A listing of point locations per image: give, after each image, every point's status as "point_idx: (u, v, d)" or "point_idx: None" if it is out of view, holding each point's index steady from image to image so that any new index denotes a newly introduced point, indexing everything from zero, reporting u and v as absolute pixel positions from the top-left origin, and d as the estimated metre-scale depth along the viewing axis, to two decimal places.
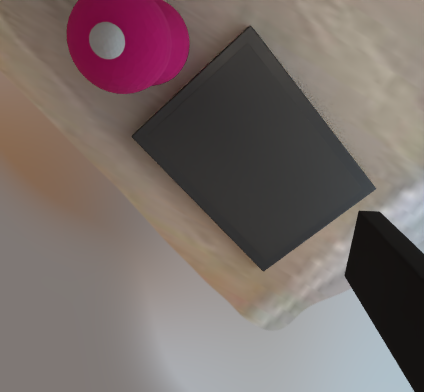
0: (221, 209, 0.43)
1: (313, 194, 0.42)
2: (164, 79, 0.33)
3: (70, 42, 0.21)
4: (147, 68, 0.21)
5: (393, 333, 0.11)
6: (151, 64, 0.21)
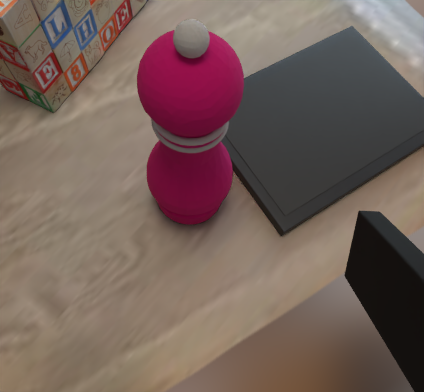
0: (374, 155, 0.37)
1: (357, 72, 0.41)
2: (228, 153, 0.31)
3: (184, 99, 0.19)
4: (222, 39, 0.20)
5: (393, 333, 0.11)
6: (219, 37, 0.21)
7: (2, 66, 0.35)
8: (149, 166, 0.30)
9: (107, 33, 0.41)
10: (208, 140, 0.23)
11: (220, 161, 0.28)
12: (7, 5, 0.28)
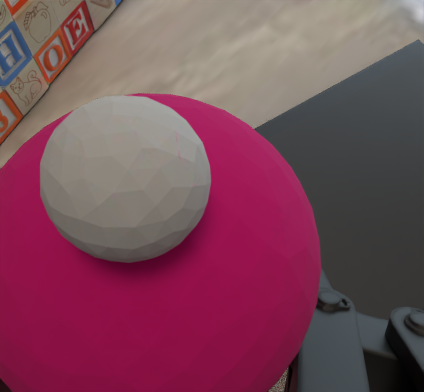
0: None
1: None
2: None
3: None
4: (253, 135, 0.06)
5: None
6: (242, 124, 0.06)
7: None
8: None
9: (52, 56, 0.27)
10: None
11: None
12: None
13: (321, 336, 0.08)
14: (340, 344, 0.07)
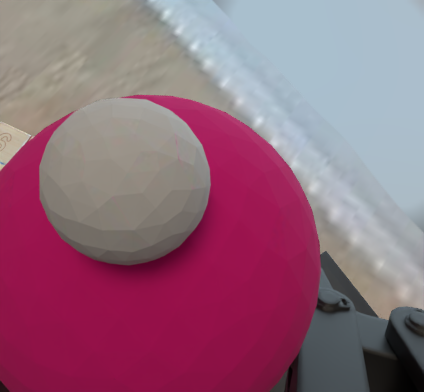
0: None
1: None
2: None
3: None
4: (253, 137, 0.06)
5: None
6: (241, 126, 0.06)
7: None
8: None
9: None
10: None
11: None
12: None
13: (321, 336, 0.08)
14: (340, 344, 0.07)
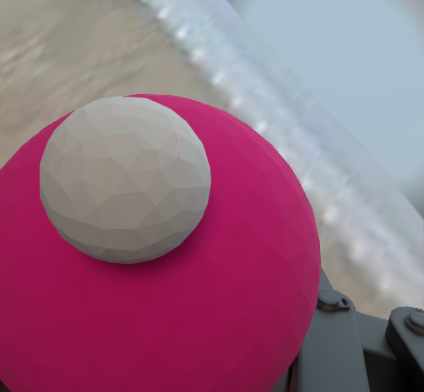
0: None
1: None
2: None
3: None
4: (253, 136, 0.06)
5: None
6: (241, 125, 0.06)
7: None
8: None
9: None
10: None
11: None
12: None
13: (321, 336, 0.08)
14: (340, 344, 0.07)
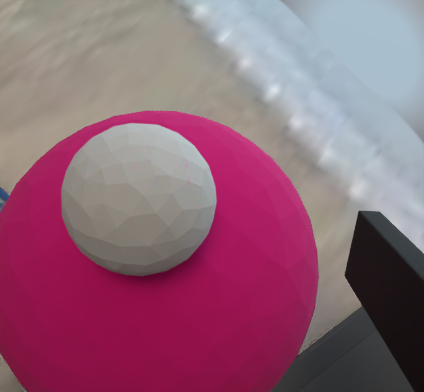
0: None
1: None
2: None
3: None
4: (254, 151, 0.07)
5: (392, 333, 0.11)
6: (243, 140, 0.07)
7: None
8: None
9: None
10: None
11: None
12: None
13: None
14: None
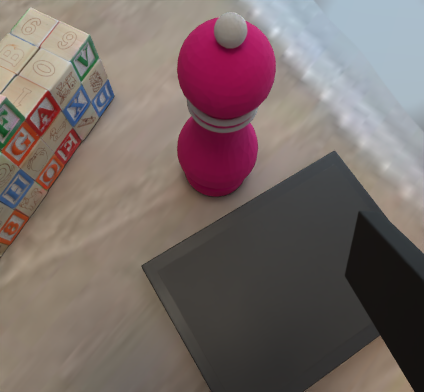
0: (348, 332, 0.33)
1: (336, 217, 0.36)
2: (254, 130, 0.33)
3: (223, 86, 0.21)
4: (257, 28, 0.22)
5: (393, 333, 0.11)
6: (253, 25, 0.22)
7: None
8: (181, 143, 0.32)
9: (49, 172, 0.36)
10: (240, 121, 0.25)
11: (248, 139, 0.30)
12: None
13: None
14: None
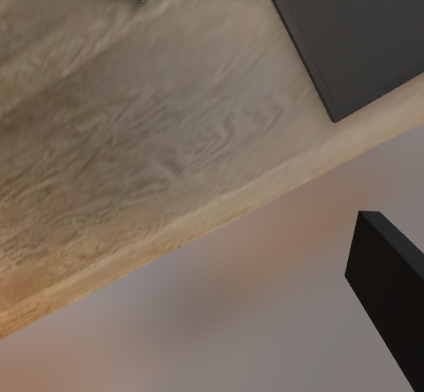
0: None
1: None
2: None
3: None
4: None
5: (392, 333, 0.11)
6: None
7: None
8: None
9: None
10: None
11: None
12: None
13: None
14: None
